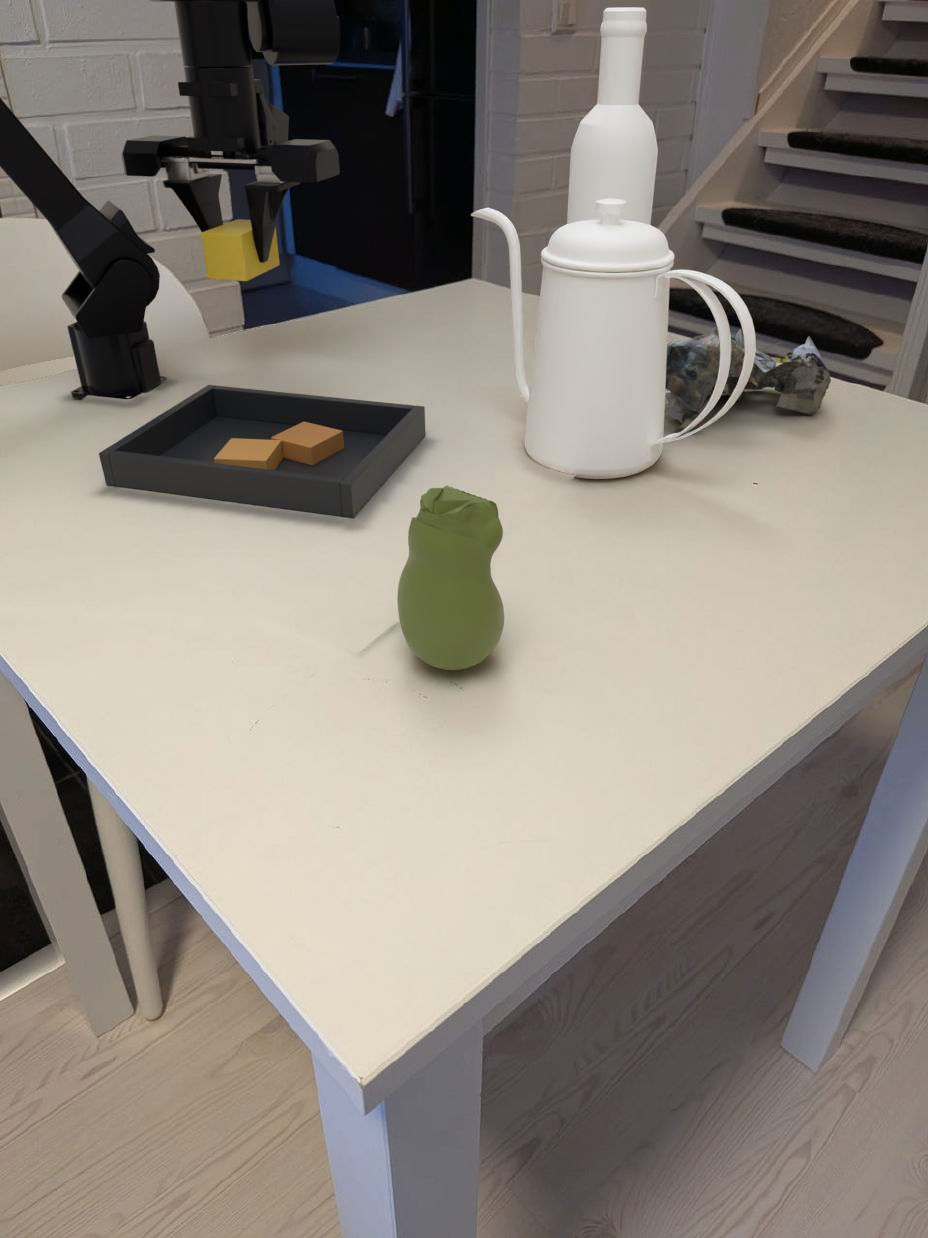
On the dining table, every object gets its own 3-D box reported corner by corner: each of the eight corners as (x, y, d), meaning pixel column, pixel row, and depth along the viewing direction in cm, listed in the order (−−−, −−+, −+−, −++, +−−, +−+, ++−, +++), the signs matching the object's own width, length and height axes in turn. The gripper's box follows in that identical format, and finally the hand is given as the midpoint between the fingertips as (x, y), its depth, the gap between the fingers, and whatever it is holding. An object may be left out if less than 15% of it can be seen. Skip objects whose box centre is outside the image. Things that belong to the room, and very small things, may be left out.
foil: (864, 401, 73) (720, 293, 70) (768, 498, 79) (631, 402, 76) (835, 351, 83) (707, 254, 79) (751, 441, 89) (629, 354, 85)
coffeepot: (511, 400, 84) (517, 173, 73) (763, 476, 69) (813, 207, 59) (428, 433, 77) (421, 189, 67) (687, 524, 63) (729, 231, 52)
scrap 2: (272, 455, 72) (270, 437, 71) (305, 438, 74) (303, 421, 74) (312, 465, 70) (310, 447, 69) (344, 448, 73) (343, 430, 72)
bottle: (560, 351, 96) (579, 8, 80) (636, 354, 95) (670, 7, 79) (556, 375, 89) (575, 6, 73) (637, 378, 88) (675, 6, 72)
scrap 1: (216, 477, 68) (213, 458, 67) (233, 456, 72) (231, 437, 71) (268, 479, 68) (266, 460, 67) (283, 458, 71) (281, 439, 70)
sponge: (207, 278, 84) (200, 232, 82) (242, 262, 90) (237, 218, 88) (246, 281, 83) (240, 234, 81) (280, 264, 89) (275, 220, 87)
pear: (381, 662, 49) (370, 493, 44) (445, 620, 53) (442, 459, 47) (461, 703, 46) (460, 527, 41) (523, 656, 50) (530, 488, 44)
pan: (107, 492, 67) (98, 452, 66) (213, 418, 80) (208, 384, 78) (353, 525, 63) (350, 484, 61) (425, 442, 75) (424, 406, 74)
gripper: (356, 64, 82) (366, 248, 90) (170, 62, 86) (197, 239, 94) (305, 68, 73) (322, 273, 81) (101, 67, 77) (137, 261, 86)
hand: (243, 260), depth 86 cm, fingers closed on sponge, 4 cm apart
